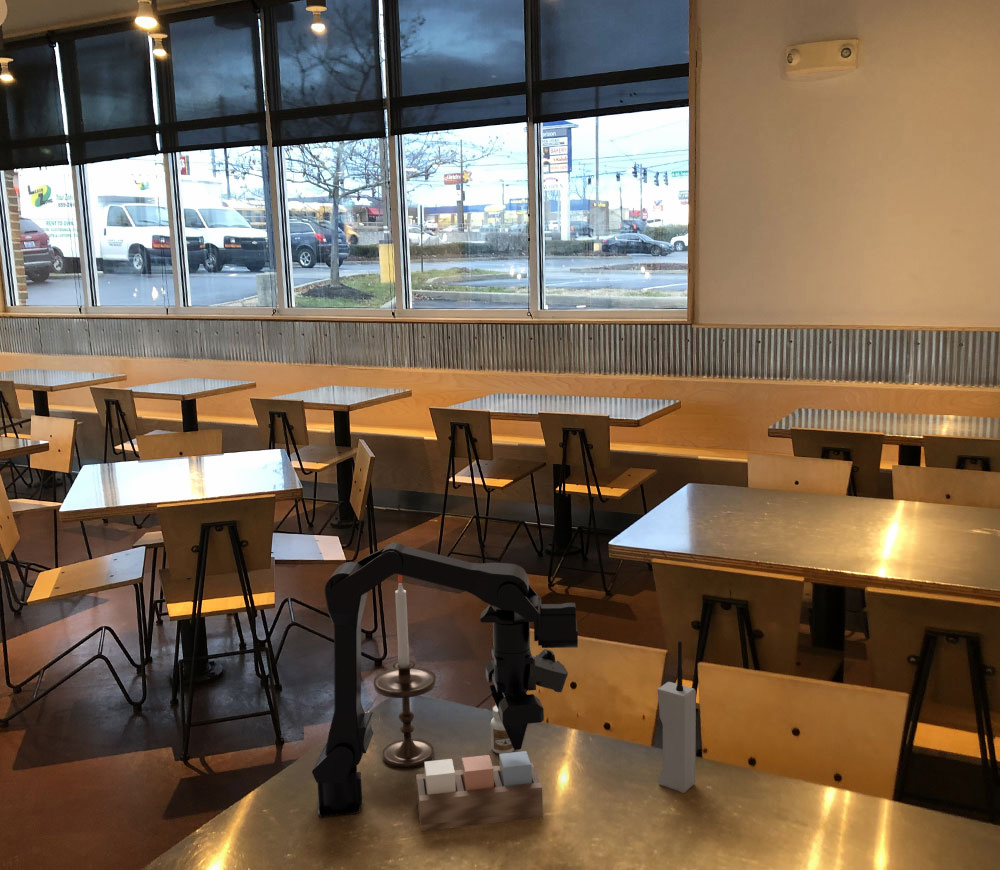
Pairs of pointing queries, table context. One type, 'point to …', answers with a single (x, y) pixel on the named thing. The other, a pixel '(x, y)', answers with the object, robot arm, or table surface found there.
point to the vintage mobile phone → (678, 732)
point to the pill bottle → (499, 735)
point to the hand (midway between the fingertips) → (514, 741)
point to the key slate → (515, 768)
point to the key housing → (478, 803)
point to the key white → (439, 776)
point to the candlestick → (405, 694)
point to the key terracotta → (477, 772)
